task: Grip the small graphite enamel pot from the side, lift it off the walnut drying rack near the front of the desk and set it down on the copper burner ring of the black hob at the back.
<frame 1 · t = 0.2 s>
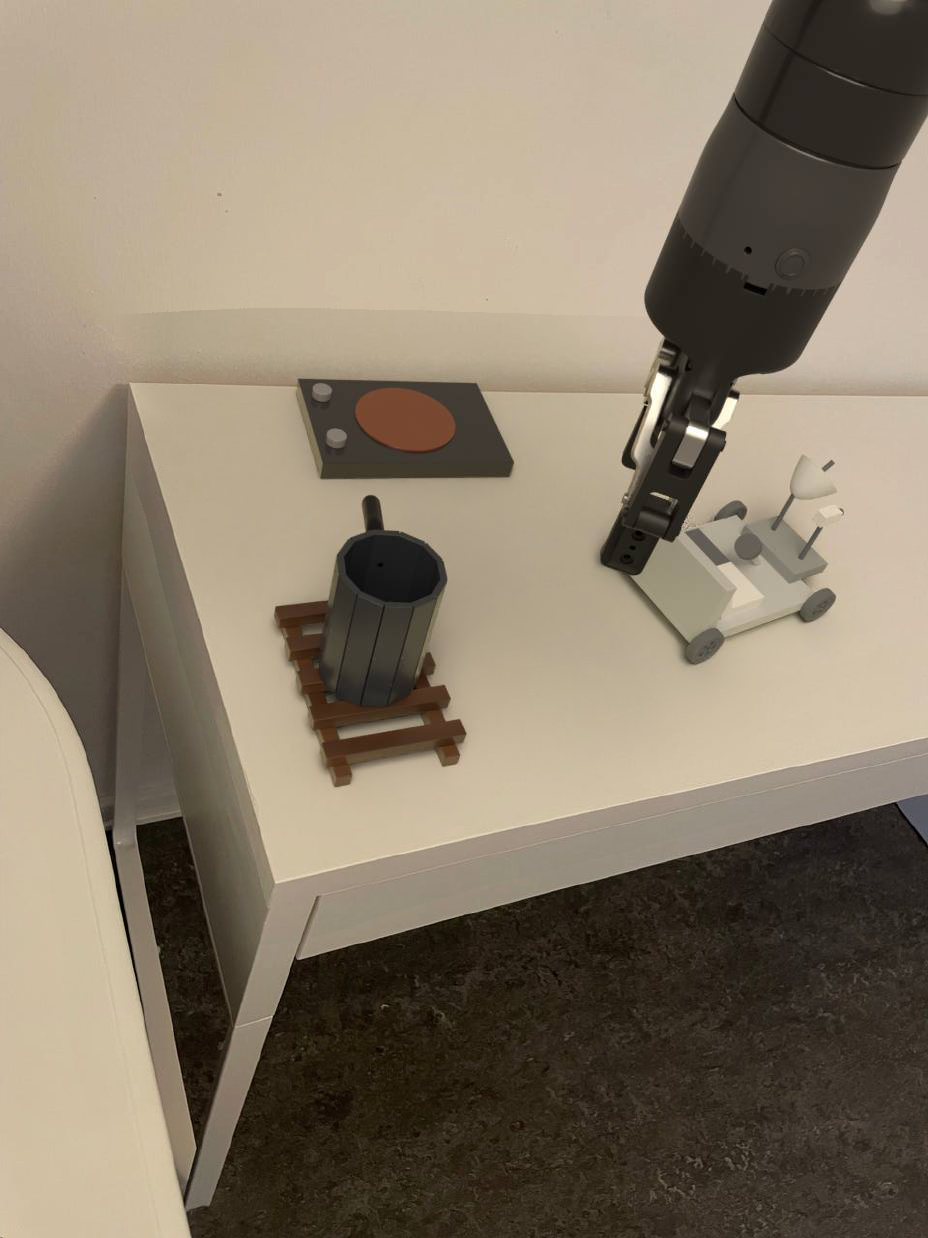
hand: (628, 514, 55), 19 cm above the table, tool pointing down, fingers open, 8 cm apart
stove: (401, 435, 87), on the table
rack: (363, 687, 67), on the table
pot: (368, 667, 66), point 2 cm above the table, touching rack
toy car: (721, 587, 82), on the table
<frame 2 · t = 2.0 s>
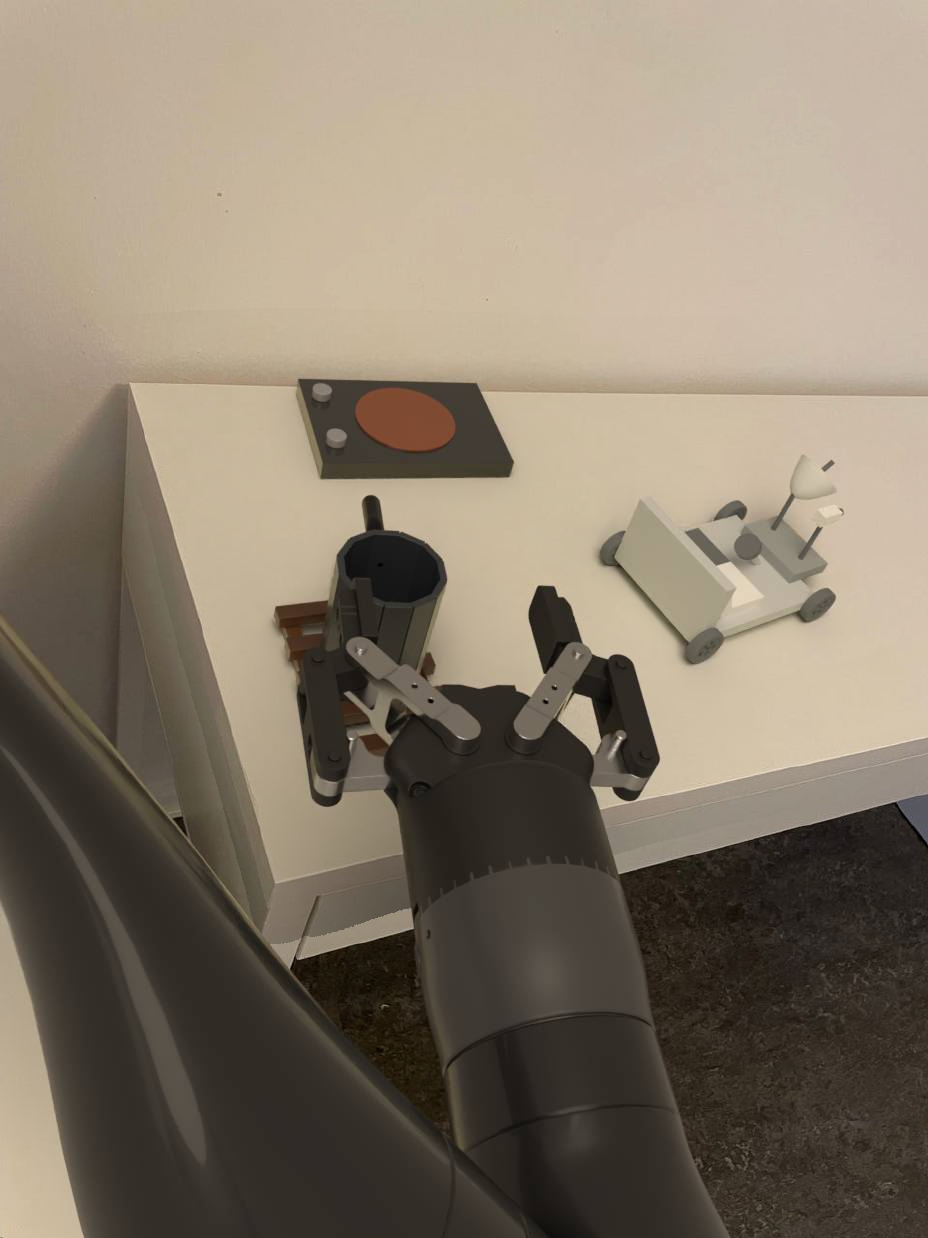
hand: (450, 594, 47), 19 cm above the table, tool horizontal, fingers open, 8 cm apart
nothing on the table moved.
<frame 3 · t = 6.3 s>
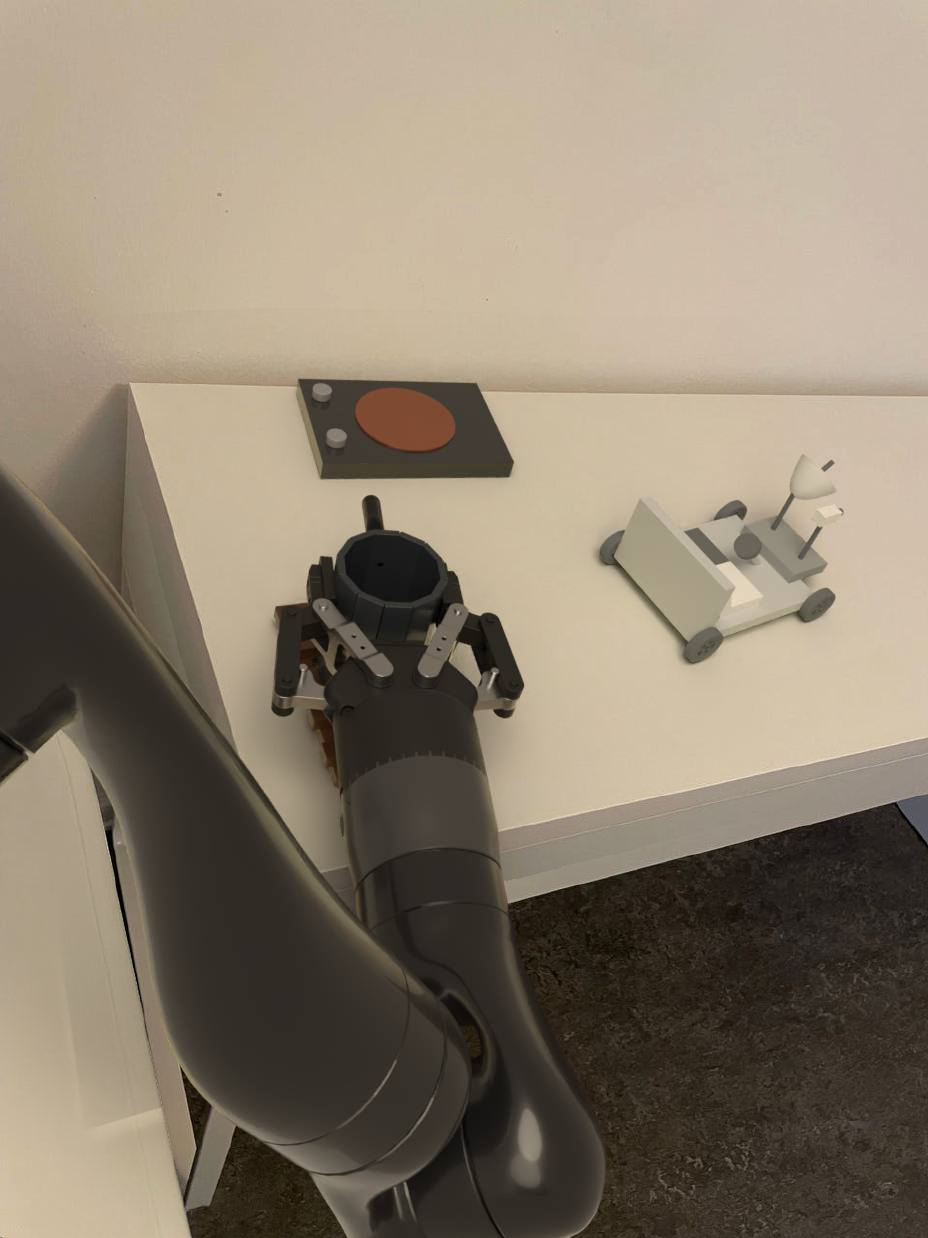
hand: (380, 569, 63), 8 cm above the table, tool horizontal, fingers closed on pot, 6 cm apart
pot: (368, 667, 66), point 2 cm above the table, touching gripper, rack
everything else where it was.
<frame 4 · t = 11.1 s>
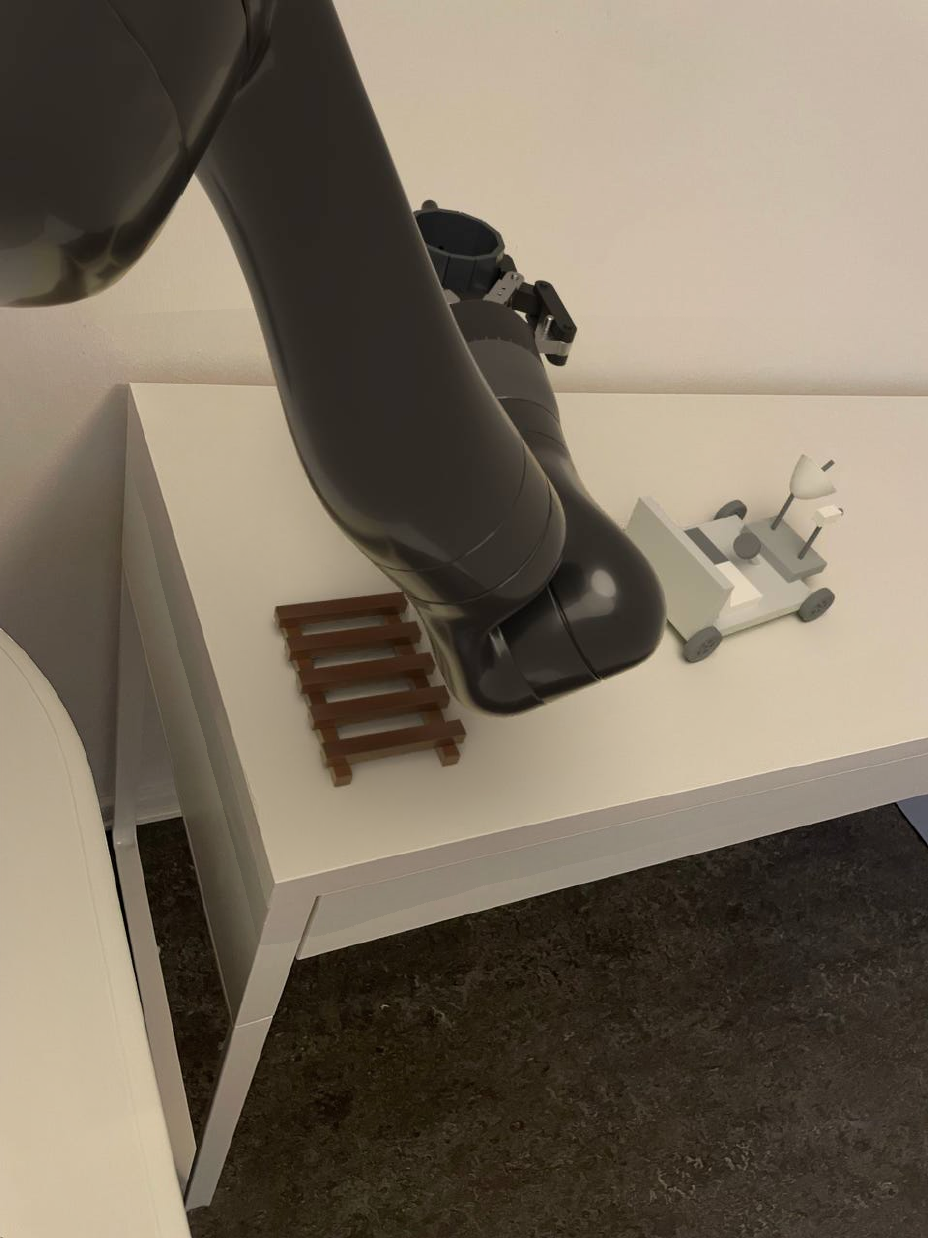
hand: (441, 251, 68), 20 cm above the table, tool horizontal, fingers closed on pot, 6 cm apart
pot: (427, 355, 71), point 13 cm above the table, touching gripper
everything else where it was.
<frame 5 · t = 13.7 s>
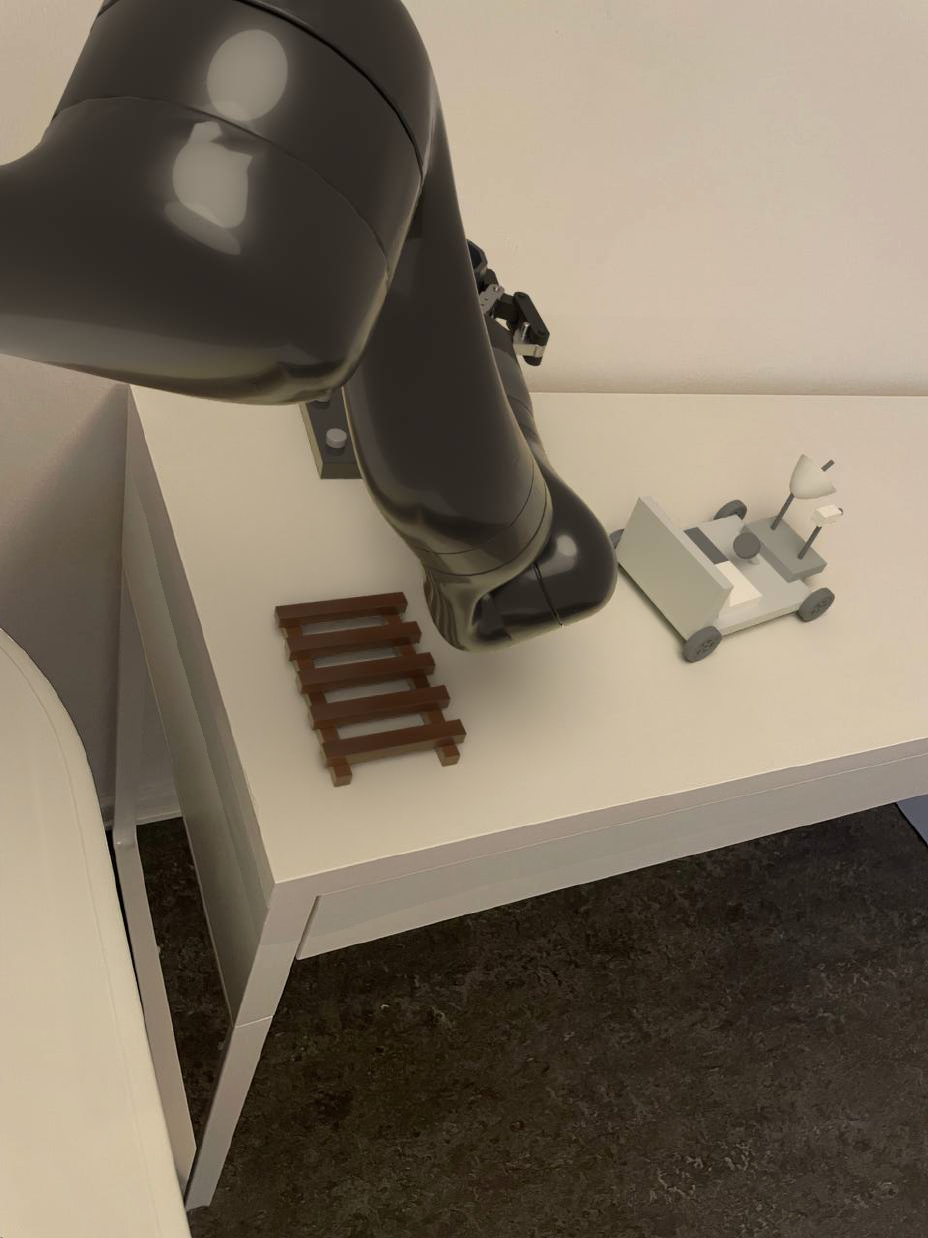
hand: (432, 266, 78), 14 cm above the table, tool horizontal, fingers closed on pot, 6 cm apart
pot: (420, 357, 81), point 8 cm above the table, touching gripper
everything else where it was.
when the fingers open (8 cm above the table, at t = 15.9 s): pot stays where it is, resting on stove.
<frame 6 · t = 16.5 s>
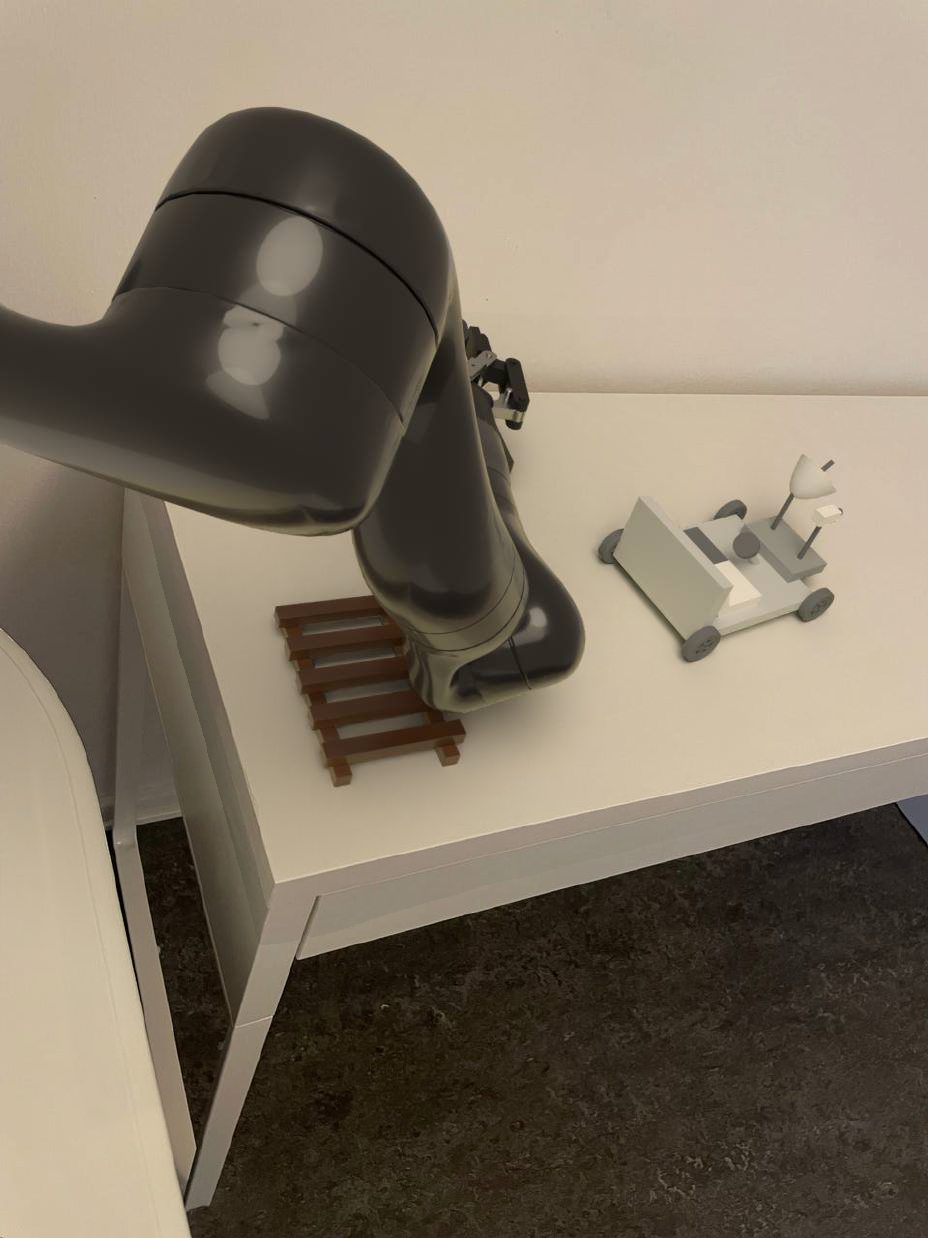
hand: (418, 329, 82), 9 cm above the table, tool horizontal, fingers open, 8 cm apart
pot: (407, 418, 85), point 2 cm above the table, touching stove
everything else where it was.
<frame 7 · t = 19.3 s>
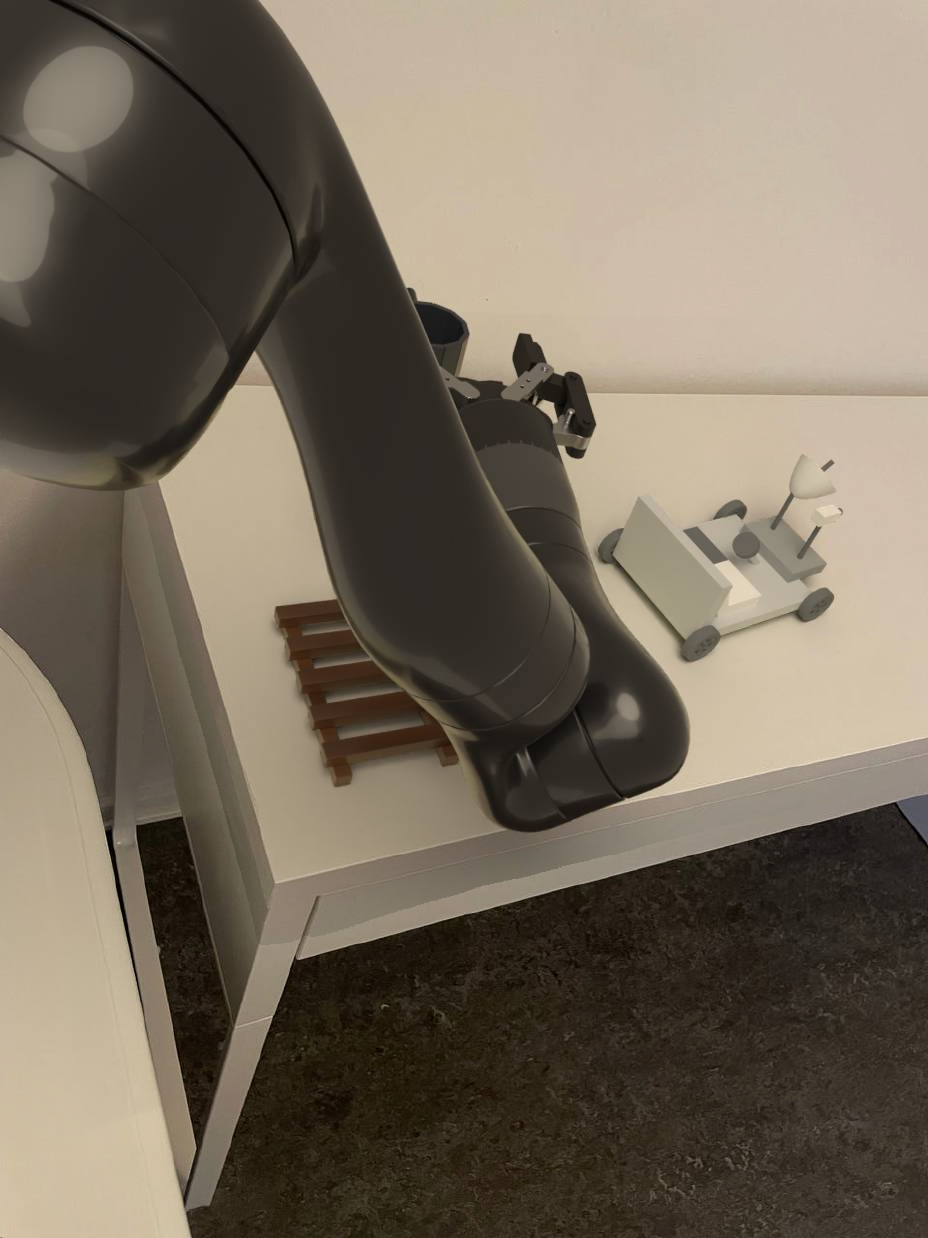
hand: (459, 337, 69), 16 cm above the table, tool horizontal, fingers open, 8 cm apart
nothing on the table moved.
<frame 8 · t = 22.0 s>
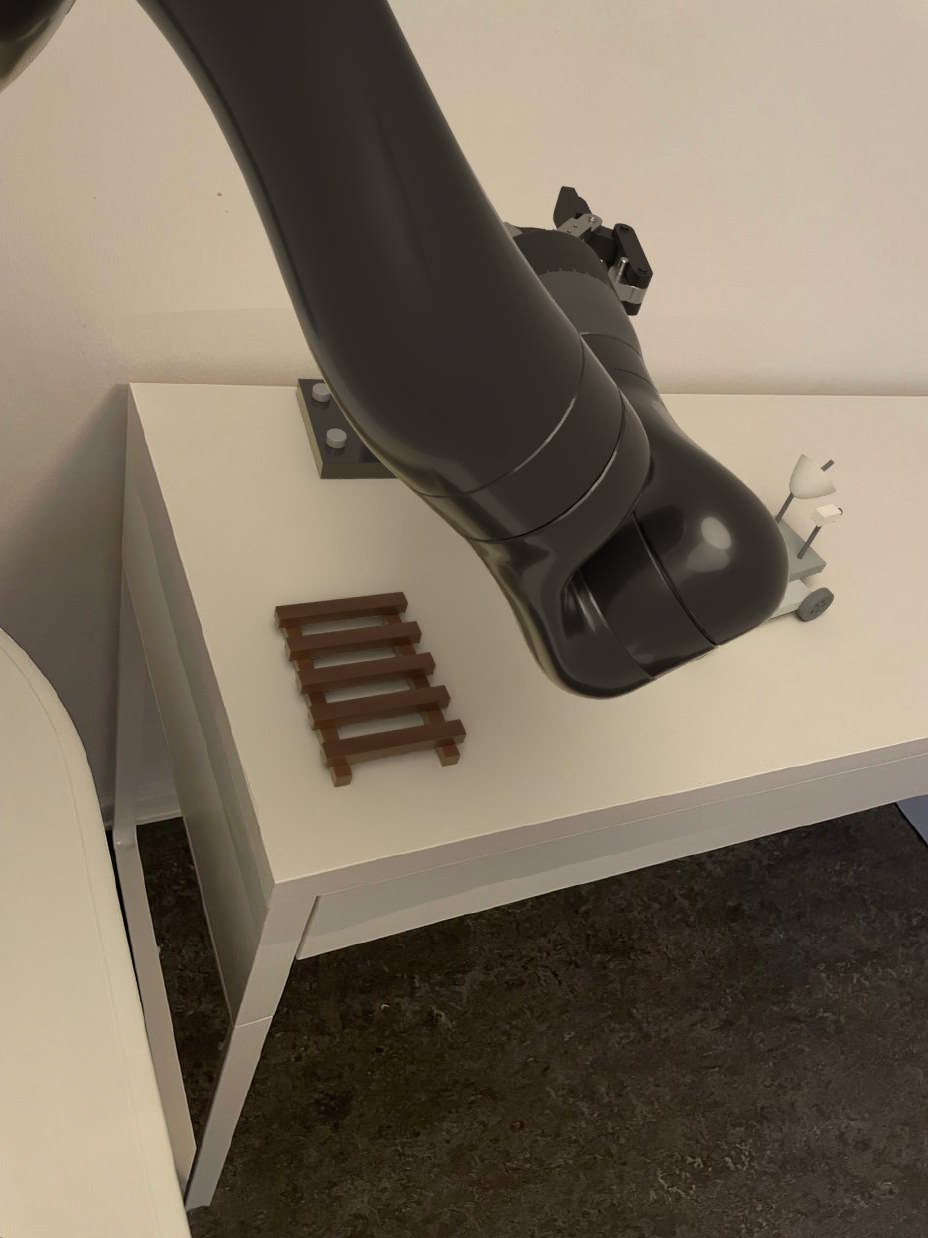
hand: (494, 190, 61), 26 cm above the table, tool horizontal, fingers open, 8 cm apart
nothing on the table moved.
at the end: pot inside the target area on the stove (0.1 cm from its centre), point 1.8 cm above the stove's base; pot tilted 0°; the gripper is holding nothing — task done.
